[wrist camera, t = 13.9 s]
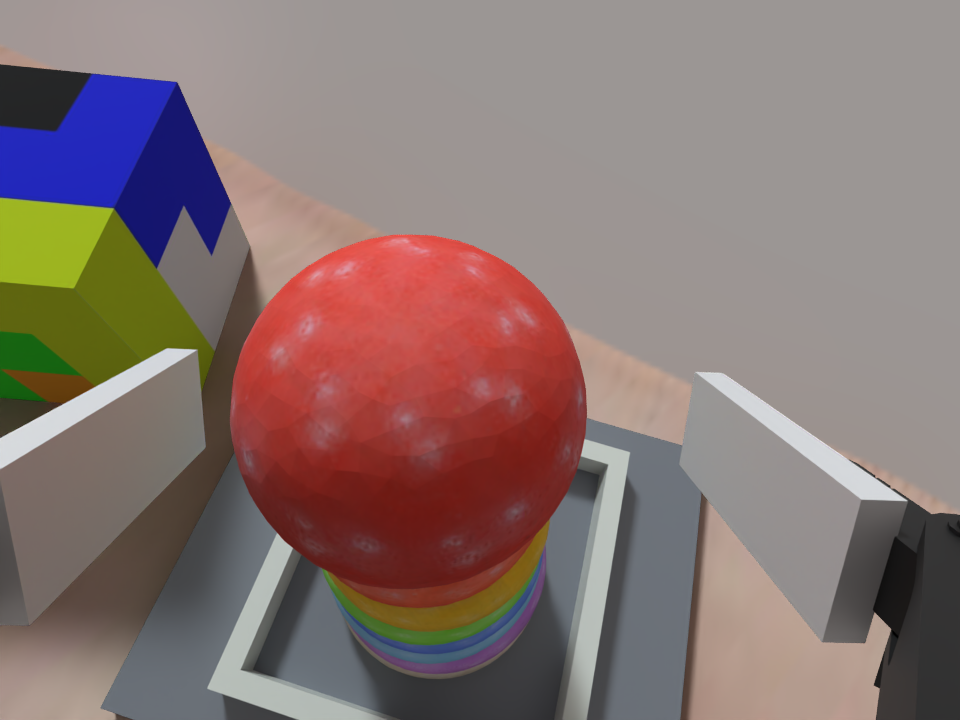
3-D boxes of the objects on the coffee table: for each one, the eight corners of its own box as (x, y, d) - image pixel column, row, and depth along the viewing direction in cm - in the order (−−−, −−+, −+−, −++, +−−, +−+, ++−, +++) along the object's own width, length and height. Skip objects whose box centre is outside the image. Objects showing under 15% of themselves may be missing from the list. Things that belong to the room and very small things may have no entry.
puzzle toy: (250, 246, 31) (177, 81, 22) (194, 414, 26) (73, 288, 18) (65, 229, 31) (-82, 56, 22) (-25, 396, 26) (-258, 258, 17)
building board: (114, 706, 21) (76, 710, 19) (299, 345, 28) (288, 318, 26) (652, 893, 19) (679, 922, 17) (696, 459, 27) (719, 440, 25)
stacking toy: (383, 447, 25) (277, 23, 9) (558, 503, 24) (798, 156, 8) (304, 637, 21) (-143, 518, 5) (507, 710, 21) (767, 852, 4)
